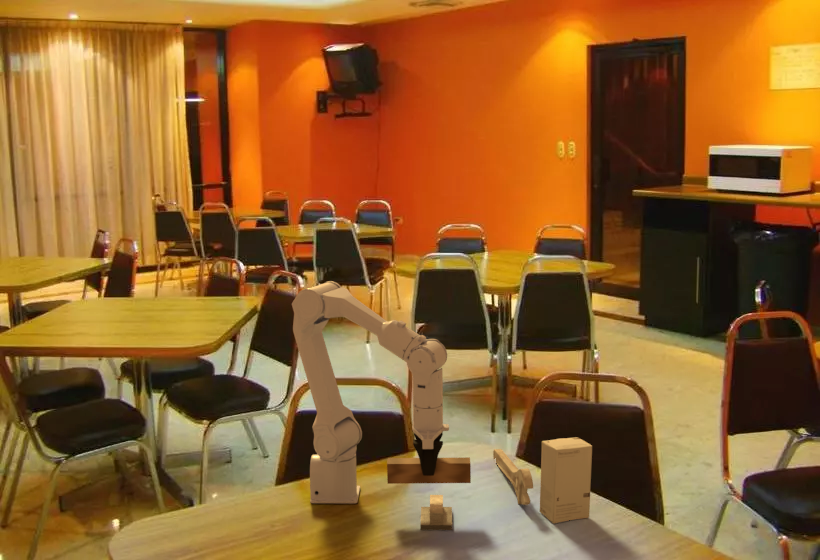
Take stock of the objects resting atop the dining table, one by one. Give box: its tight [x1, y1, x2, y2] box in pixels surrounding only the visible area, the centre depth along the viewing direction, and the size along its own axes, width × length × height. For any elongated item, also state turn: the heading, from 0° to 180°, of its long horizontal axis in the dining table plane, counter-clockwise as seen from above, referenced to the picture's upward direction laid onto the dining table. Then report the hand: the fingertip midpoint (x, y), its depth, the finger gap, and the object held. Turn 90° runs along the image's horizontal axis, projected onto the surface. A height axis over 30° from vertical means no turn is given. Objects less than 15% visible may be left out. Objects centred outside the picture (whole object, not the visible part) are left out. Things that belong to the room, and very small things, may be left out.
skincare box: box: [539, 436, 593, 525], centre depth 174 cm, size 8×6×15 cm
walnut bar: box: [386, 456, 472, 485], centre depth 174 cm, size 16×3×4 cm, turn 88°
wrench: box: [492, 448, 534, 506], centre depth 189 cm, size 8×2×30 cm
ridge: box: [419, 494, 453, 531], centre depth 173 cm, size 6×8×4 cm
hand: (428, 471), depth 174 cm, fingers closed on walnut bar, 3 cm apart
